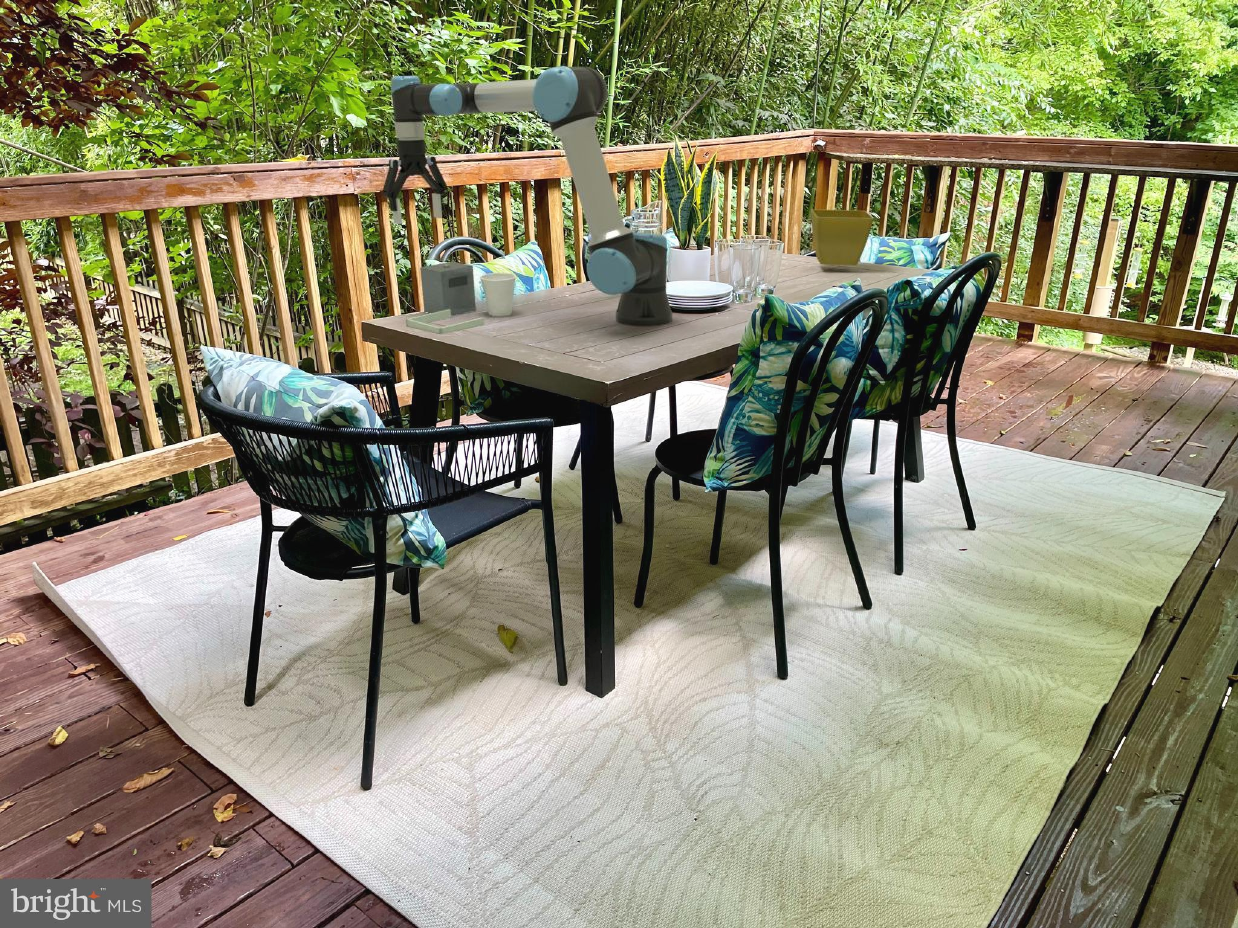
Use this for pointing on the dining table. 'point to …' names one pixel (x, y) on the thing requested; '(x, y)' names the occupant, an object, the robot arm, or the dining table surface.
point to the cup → (498, 292)
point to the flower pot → (840, 235)
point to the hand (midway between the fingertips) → (418, 220)
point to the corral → (421, 320)
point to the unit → (448, 288)
